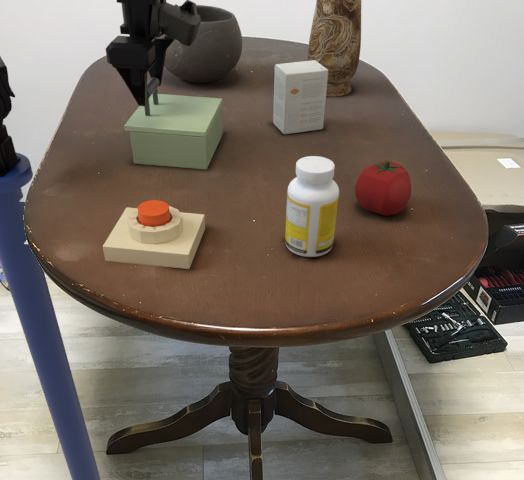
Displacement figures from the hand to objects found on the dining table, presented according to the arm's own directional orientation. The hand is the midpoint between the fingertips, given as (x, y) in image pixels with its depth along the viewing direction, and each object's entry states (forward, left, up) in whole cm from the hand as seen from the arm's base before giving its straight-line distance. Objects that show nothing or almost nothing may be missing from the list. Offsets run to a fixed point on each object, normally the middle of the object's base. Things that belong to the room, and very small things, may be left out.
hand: (150, 95), depth 95 cm
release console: (+8, -30, -8) cm, 32 cm away
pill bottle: (+28, -27, -9) cm, 40 cm away
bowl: (0, +35, -9) cm, 36 cm away
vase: (+28, +34, -9) cm, 45 cm away
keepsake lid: (+4, 0, -3) cm, 5 cm away
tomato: (+38, -15, -9) cm, 42 cm away
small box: (+23, +13, -9) cm, 28 cm away
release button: (+8, -30, -5) cm, 31 cm away
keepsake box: (+4, 0, -8) cm, 9 cm away
